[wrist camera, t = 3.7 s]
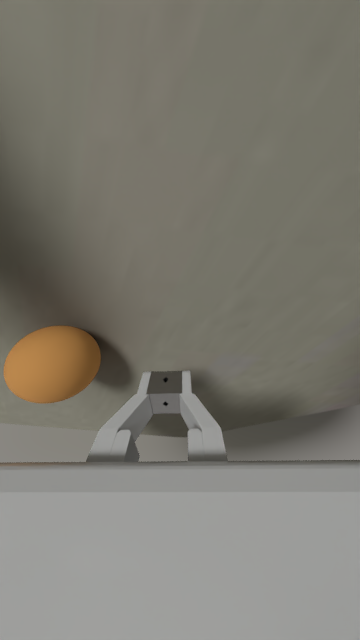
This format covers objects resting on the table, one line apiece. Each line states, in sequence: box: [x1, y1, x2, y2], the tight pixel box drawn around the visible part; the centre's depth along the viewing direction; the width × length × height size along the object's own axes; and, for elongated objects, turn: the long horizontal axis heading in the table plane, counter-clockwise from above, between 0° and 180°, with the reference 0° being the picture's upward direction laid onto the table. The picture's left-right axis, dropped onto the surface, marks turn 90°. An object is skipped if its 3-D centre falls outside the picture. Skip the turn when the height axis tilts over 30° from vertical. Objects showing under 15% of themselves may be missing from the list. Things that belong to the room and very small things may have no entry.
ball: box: [4, 326, 101, 403], centre depth 11 cm, size 6×6×6 cm
